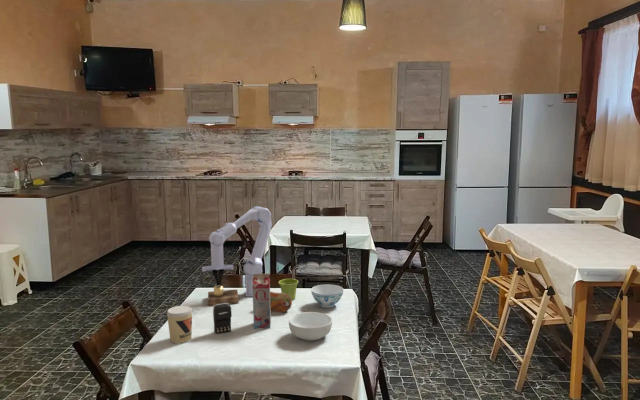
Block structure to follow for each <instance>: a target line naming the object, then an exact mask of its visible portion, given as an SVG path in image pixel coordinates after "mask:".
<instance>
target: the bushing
mask: <svg viewBox="0 0 640 400" xmlns="http://www.w3.org/2000/svg"><path fill="white" fill-rule="evenodd" d="M213 291H214V297H221V296H224V295H223V291H224V286H223V285H221V284H220V285H218V286H217V285H215V286H213Z"/></svg>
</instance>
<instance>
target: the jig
mask: <svg viewBox="0 0 640 400" xmlns="http://www.w3.org/2000/svg"><path fill="white" fill-rule="evenodd" d="M223 295H224V296H221V297H214V290H213V291H208V292H207V306H208V307H210V306H213V307H214V306H215V305H216V304H222V303H228V304H229V305H233V304H234V305H235V303H236V304H239V303H240V302H239V299H240V298H239V292H238V289H226V290H224V289H223Z"/></svg>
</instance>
